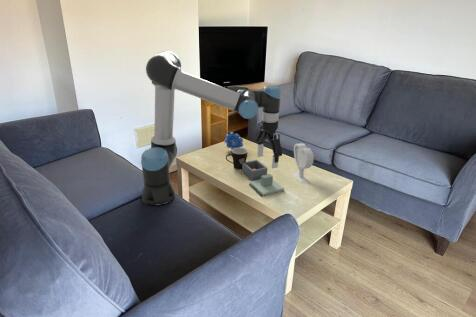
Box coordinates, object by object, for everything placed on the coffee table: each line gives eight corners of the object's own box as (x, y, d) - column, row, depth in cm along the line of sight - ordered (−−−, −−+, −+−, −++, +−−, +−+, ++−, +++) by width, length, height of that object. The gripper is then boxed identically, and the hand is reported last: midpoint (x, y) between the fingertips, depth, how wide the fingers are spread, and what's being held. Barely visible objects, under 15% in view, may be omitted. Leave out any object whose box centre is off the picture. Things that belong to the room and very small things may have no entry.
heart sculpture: (290, 171, 188) (293, 141, 180) (298, 170, 189) (301, 140, 182) (302, 185, 175) (306, 153, 167) (311, 184, 176) (315, 152, 168)
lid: (263, 195, 164) (263, 184, 161) (249, 183, 174) (249, 173, 172) (283, 189, 169) (284, 179, 167) (269, 178, 179) (270, 168, 177)
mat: (261, 196, 164) (261, 195, 164) (249, 185, 174) (249, 184, 174) (283, 190, 170) (283, 189, 170) (270, 179, 179) (271, 178, 179)
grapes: (224, 153, 208) (224, 135, 203) (224, 148, 215) (224, 131, 209) (243, 153, 209) (243, 135, 204) (242, 149, 215) (243, 131, 210)
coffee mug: (247, 164, 196) (248, 148, 191) (246, 171, 188) (246, 154, 184) (227, 162, 197) (227, 146, 192) (225, 169, 189) (225, 153, 185)
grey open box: (251, 181, 177) (252, 171, 175) (242, 172, 186) (242, 162, 184) (266, 178, 181) (267, 167, 178) (256, 169, 190) (256, 159, 187)
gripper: (292, 128, 148) (288, 171, 157) (263, 111, 168) (260, 150, 177) (278, 130, 145) (274, 174, 154) (249, 113, 165) (248, 153, 174)
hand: (267, 162), depth 166 cm, fingers open, 13 cm apart
